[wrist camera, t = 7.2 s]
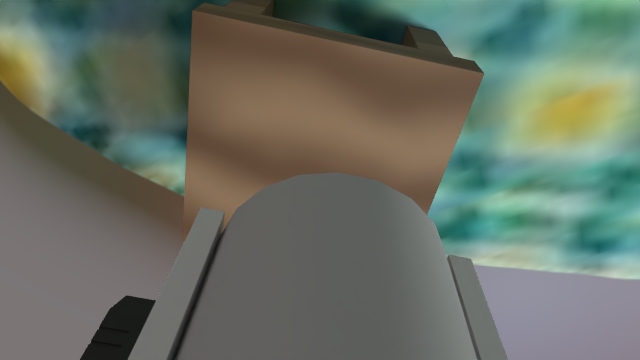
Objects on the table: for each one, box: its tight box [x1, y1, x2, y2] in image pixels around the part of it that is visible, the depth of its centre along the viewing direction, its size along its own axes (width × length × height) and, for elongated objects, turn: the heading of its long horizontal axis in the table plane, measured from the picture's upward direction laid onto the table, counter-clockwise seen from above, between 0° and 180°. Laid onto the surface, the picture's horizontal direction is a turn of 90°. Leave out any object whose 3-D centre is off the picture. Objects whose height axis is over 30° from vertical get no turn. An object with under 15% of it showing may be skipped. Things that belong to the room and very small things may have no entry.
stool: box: [183, 0, 484, 241], centre depth 29 cm, size 14×14×10 cm
